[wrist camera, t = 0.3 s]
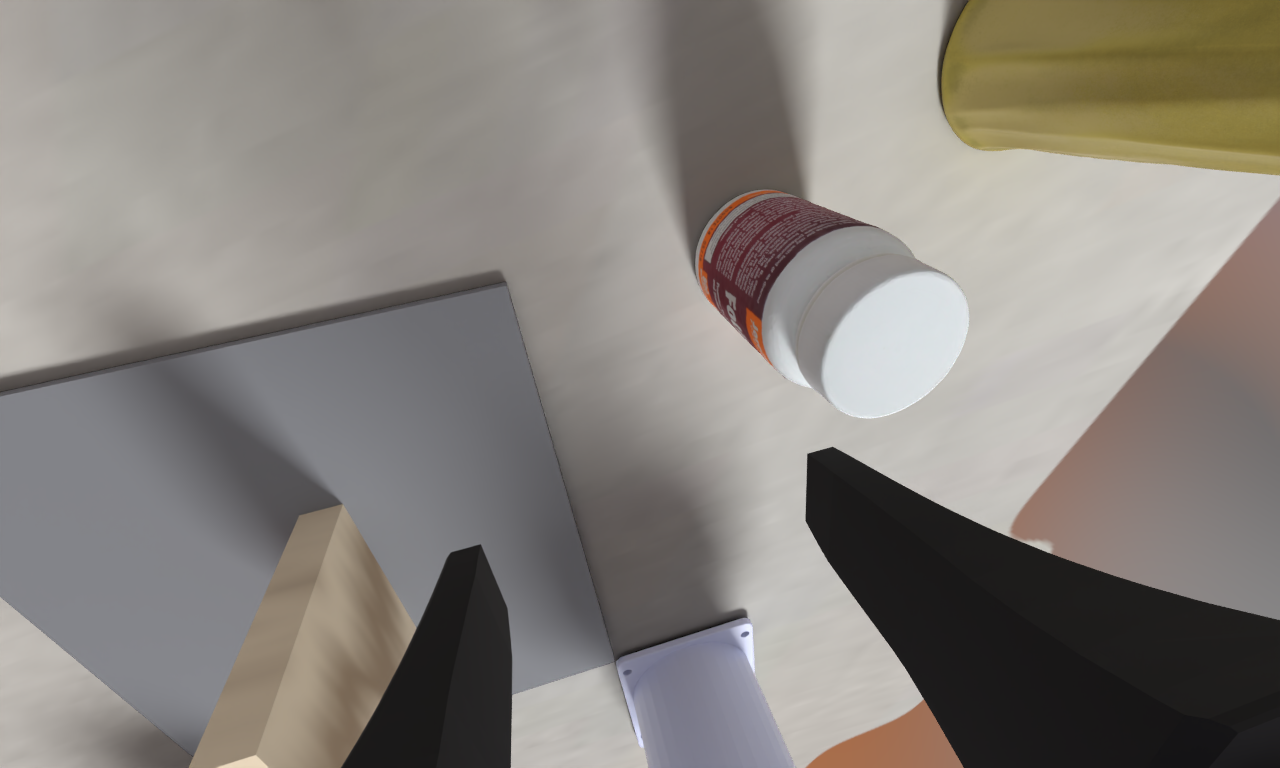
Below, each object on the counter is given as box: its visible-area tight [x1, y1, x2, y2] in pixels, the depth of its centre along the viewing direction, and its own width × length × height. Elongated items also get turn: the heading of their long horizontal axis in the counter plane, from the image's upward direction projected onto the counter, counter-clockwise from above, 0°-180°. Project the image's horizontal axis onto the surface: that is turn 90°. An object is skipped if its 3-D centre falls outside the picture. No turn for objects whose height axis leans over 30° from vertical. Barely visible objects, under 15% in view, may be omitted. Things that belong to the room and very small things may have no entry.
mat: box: [0, 282, 615, 757], centre depth 22 cm, size 22×20×1 cm
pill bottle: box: [695, 189, 969, 418], centre depth 16 cm, size 5×5×8 cm
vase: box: [941, 0, 1280, 175], centre depth 13 cm, size 6×6×14 cm
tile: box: [189, 504, 417, 768], centre depth 19 cm, size 8×2×9 cm, turn 8°
